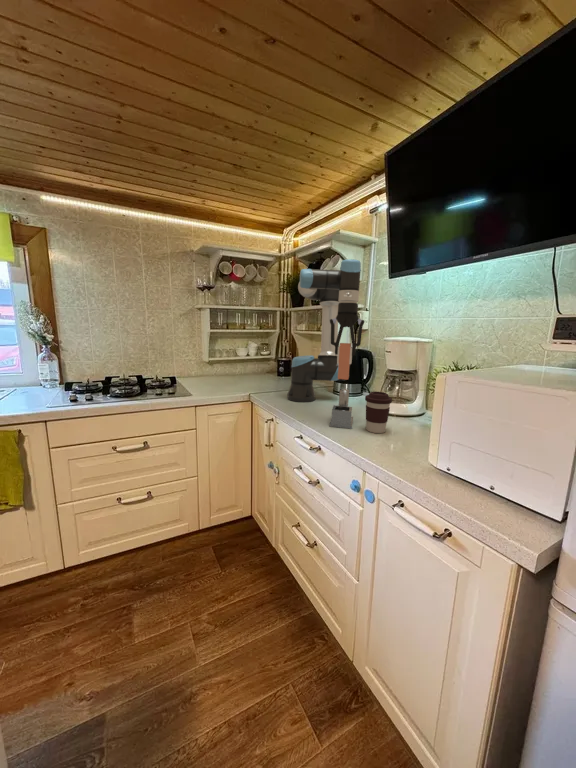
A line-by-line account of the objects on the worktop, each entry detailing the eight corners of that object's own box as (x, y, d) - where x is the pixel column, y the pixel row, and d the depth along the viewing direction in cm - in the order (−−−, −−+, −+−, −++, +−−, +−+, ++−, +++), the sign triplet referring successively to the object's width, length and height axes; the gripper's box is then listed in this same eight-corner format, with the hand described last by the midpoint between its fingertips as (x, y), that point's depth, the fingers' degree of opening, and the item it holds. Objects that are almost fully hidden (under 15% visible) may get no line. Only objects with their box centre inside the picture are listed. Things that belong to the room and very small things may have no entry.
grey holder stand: (332, 415, 143) (334, 387, 140) (353, 417, 141) (355, 389, 139) (329, 426, 128) (331, 395, 125) (352, 429, 126) (354, 396, 123)
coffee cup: (393, 430, 125) (396, 393, 123) (381, 436, 118) (385, 397, 115) (370, 424, 132) (373, 389, 129) (357, 430, 125) (360, 392, 122)
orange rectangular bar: (337, 378, 126) (339, 343, 123) (338, 377, 130) (340, 342, 127) (347, 379, 125) (350, 343, 123) (348, 378, 129) (351, 343, 126)
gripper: (324, 301, 121) (321, 363, 125) (371, 302, 117) (366, 365, 121) (327, 303, 128) (324, 361, 132) (371, 303, 124) (366, 363, 128)
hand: (344, 363), depth 126 cm, fingers closed on orange rectangular bar, 4 cm apart
